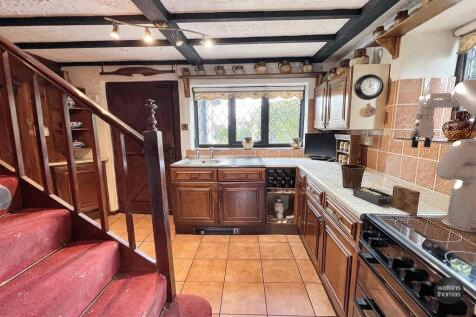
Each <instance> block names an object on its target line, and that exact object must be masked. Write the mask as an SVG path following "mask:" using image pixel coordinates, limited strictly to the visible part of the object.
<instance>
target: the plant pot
mask: <svg viewBox="0 0 476 317" xmlns="http://www.w3.org/2000/svg"><path fill="white" fill-rule="evenodd" d="M340 168H341V177H342V178H341V179H342V182H341V183H342V184H341V185H342V188H345V189H353V190H354V189H362V183H363V177H364V174H365V170H366V166H365V165H362V164H352V163H351V164H350V163H347V164H340Z"/></svg>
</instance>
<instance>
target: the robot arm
mask: <svg viewBox="0 0 476 317" xmlns="http://www.w3.org/2000/svg"><path fill="white" fill-rule="evenodd" d="M417 102H418V104H417V108H416V118H415V122H414V125H413V131H411V132H410V133H409V136H410V139H411V146H410V148H414V149H418V147H419V139H420V138H421V139H423V138H424V141H423V142H424V143H423V147H424V148H431V143H432V140H433V138H434V136H435V132H434V130H435V120H434V115H435V109H438V108H439V109H443V108H444V109H445V108H446V109H449V108H458V107H462V108H463V109H464V110H465V111H466V112H467V113H469V114H470V115H471V116H473V117H476V79H465V80H463V81H460V82H459V83H457V84H456V86H455V87H454V88H453V90H452V92H439V93H438V92H437V93H436V92H434V93H433V92H432V93H429V94H426V95H420V96H419V97H418V101H417ZM435 172H436V175H437V177H438V178H440V179H442V180H446V181H454V183H453V184H452V186H451V187H450V188H451V189H450V194H449V195H450V196H449V201H448V205H447V206H448V208H447V213H446V217H445V218H442V219H441V220H440V221H441V223H442V224H443V226H445V227H448V228H451V229H454V230H457V231H460V232H465V233H476V138H469V139H468V138H465V139H464V138H463V139H458V140H456V141H454V142H452V143H451V144H449V147H448V148H447V149H446V151H445V152H444V154H443V155H442V157H441V158H440V159H439V161H438V162H437V165H436V166H435Z"/></svg>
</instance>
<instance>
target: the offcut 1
mask: <svg viewBox="0 0 476 317" xmlns="http://www.w3.org/2000/svg"><path fill="white" fill-rule="evenodd" d="M359 189H360V191H361V192H364V193H367V194H369V192H372V191H370V190H367V189H363V188H359Z"/></svg>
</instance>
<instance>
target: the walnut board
mask: <svg viewBox="0 0 476 317" xmlns="http://www.w3.org/2000/svg"><path fill="white" fill-rule="evenodd" d="M420 196H421V191H418V190H414V189H411V188H408V187H404V186H401V185H393V187H392V203H391V204H390V207H391V208H394V209H397V210H398V211H401V212H405V213H407V214H408V216H410V217H413V218H414V217H417V215H418V211H419V210H418V209H419V202H420Z"/></svg>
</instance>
